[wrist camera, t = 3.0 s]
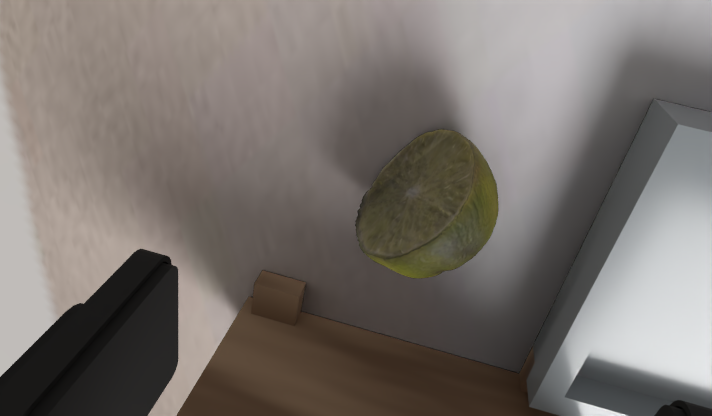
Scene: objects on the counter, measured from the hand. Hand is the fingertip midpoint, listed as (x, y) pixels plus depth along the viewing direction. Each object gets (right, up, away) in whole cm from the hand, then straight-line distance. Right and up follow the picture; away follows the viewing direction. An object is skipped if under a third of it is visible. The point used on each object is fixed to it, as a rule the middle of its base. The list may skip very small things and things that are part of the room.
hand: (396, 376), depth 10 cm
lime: (+2, +5, +10) cm, 11 cm away
